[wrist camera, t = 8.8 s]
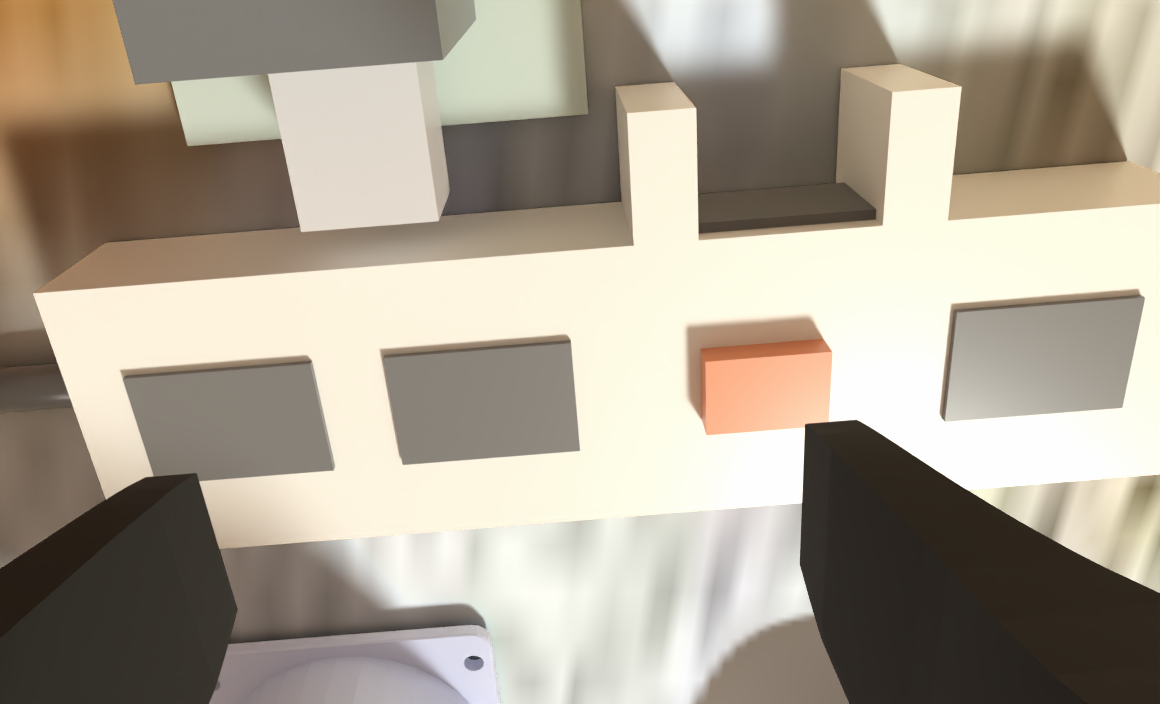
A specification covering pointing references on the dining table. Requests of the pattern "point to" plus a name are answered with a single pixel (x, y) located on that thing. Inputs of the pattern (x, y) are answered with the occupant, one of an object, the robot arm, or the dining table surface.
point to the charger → (323, 91)
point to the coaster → (463, 78)
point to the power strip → (628, 338)
